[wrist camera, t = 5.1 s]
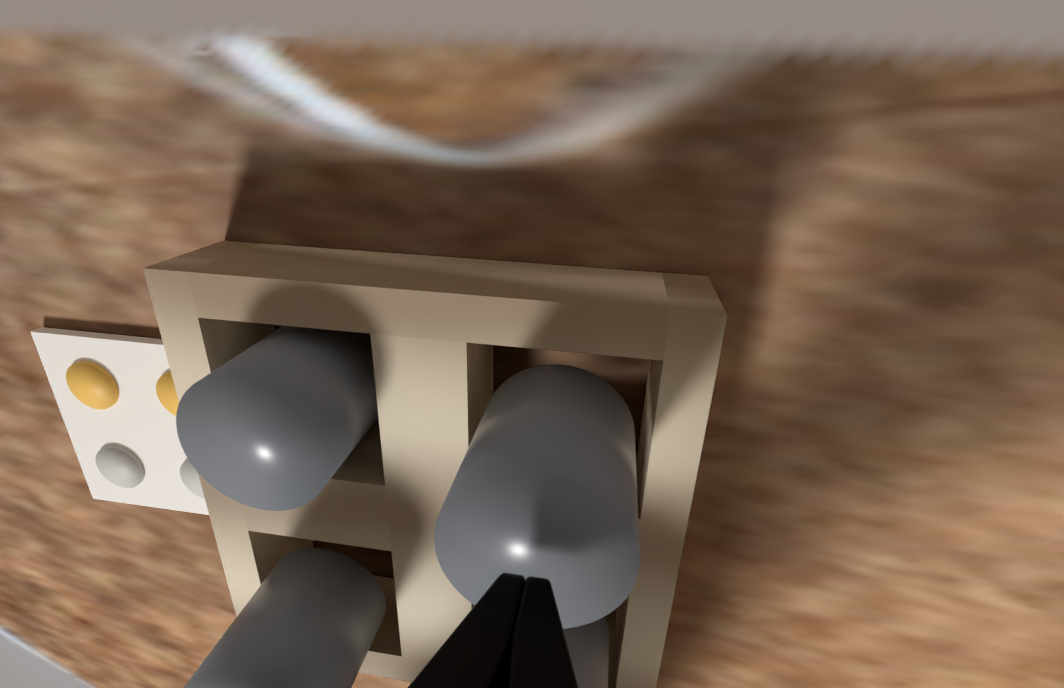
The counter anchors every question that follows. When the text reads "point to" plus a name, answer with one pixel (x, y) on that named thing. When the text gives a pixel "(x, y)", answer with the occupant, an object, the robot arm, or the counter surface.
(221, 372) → the button
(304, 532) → the button board
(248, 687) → the button
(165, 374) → the pattern tile
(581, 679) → the button
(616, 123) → the counter surface
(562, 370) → the button
